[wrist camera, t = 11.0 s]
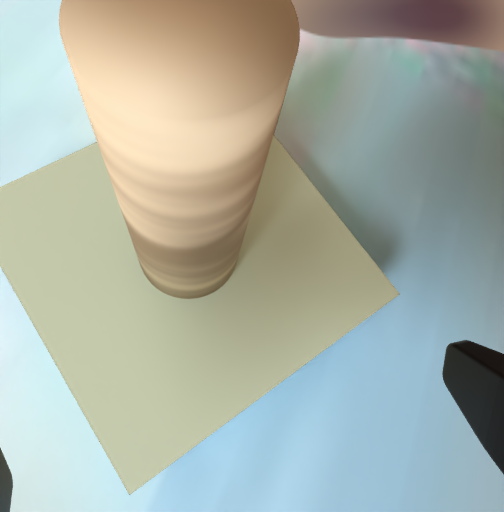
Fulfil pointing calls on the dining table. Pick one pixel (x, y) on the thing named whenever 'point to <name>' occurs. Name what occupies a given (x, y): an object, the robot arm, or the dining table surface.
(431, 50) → the dining table surface
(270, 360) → the peg shelf
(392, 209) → the dining table surface
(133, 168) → the post
